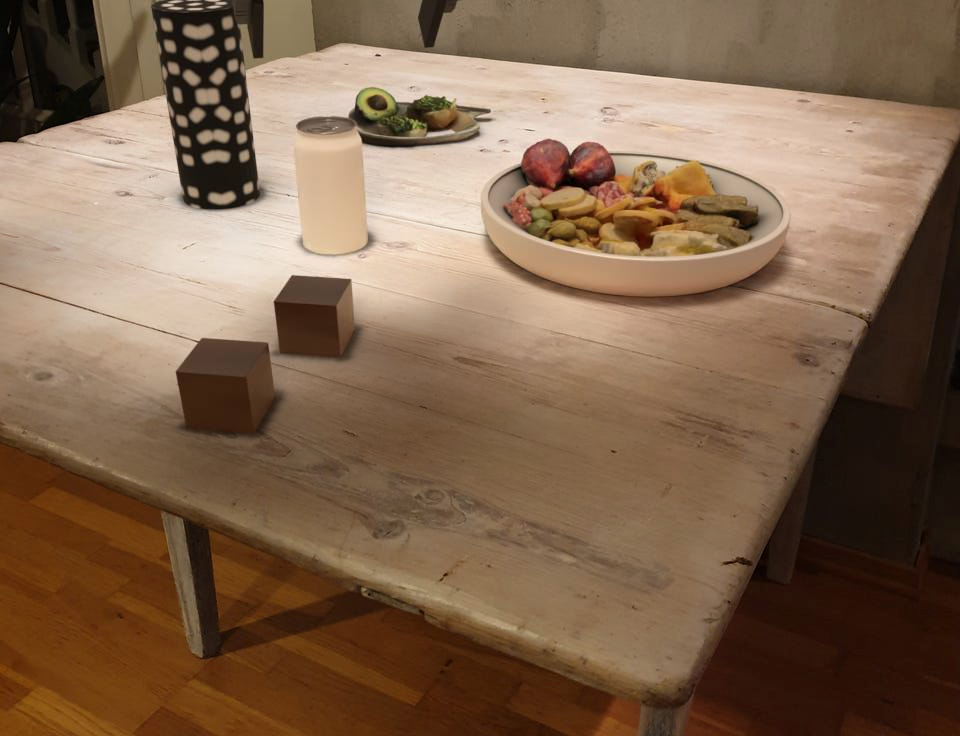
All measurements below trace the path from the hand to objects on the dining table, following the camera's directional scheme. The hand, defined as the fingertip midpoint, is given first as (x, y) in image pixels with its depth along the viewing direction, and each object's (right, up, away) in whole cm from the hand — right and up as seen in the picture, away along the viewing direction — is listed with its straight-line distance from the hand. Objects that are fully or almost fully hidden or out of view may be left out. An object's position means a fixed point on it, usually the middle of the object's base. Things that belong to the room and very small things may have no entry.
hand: (342, 37), depth 76 cm
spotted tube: (-18, -5, +31) cm, 36 cm away
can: (-4, -12, +21) cm, 24 cm away
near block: (-7, -30, -6) cm, 32 cm away
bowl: (+26, -12, +22) cm, 36 cm away
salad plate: (+1, +10, +54) cm, 55 cm away
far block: (-2, -24, +3) cm, 24 cm away
